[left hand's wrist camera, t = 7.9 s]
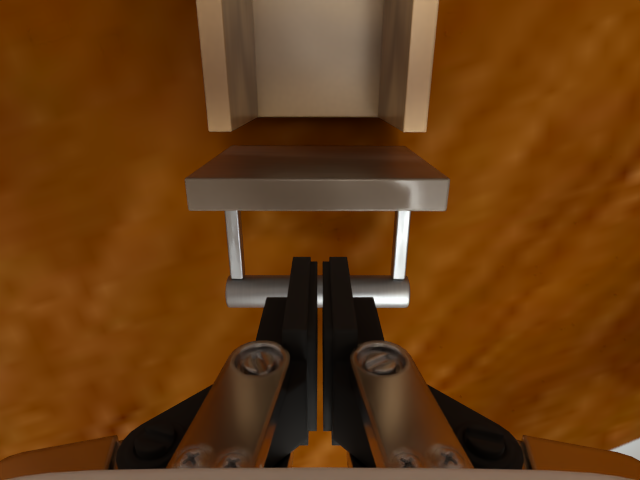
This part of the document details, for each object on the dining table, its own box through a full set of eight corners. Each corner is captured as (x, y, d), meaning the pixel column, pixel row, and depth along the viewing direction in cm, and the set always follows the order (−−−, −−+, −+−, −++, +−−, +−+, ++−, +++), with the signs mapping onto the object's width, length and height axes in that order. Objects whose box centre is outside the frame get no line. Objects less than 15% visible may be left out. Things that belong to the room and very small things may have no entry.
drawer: (395, 266, 24) (429, 348, 16) (240, 266, 24) (205, 348, 16) (444, -343, 15) (568, -767, 7) (192, -344, 15) (65, -770, 7)
